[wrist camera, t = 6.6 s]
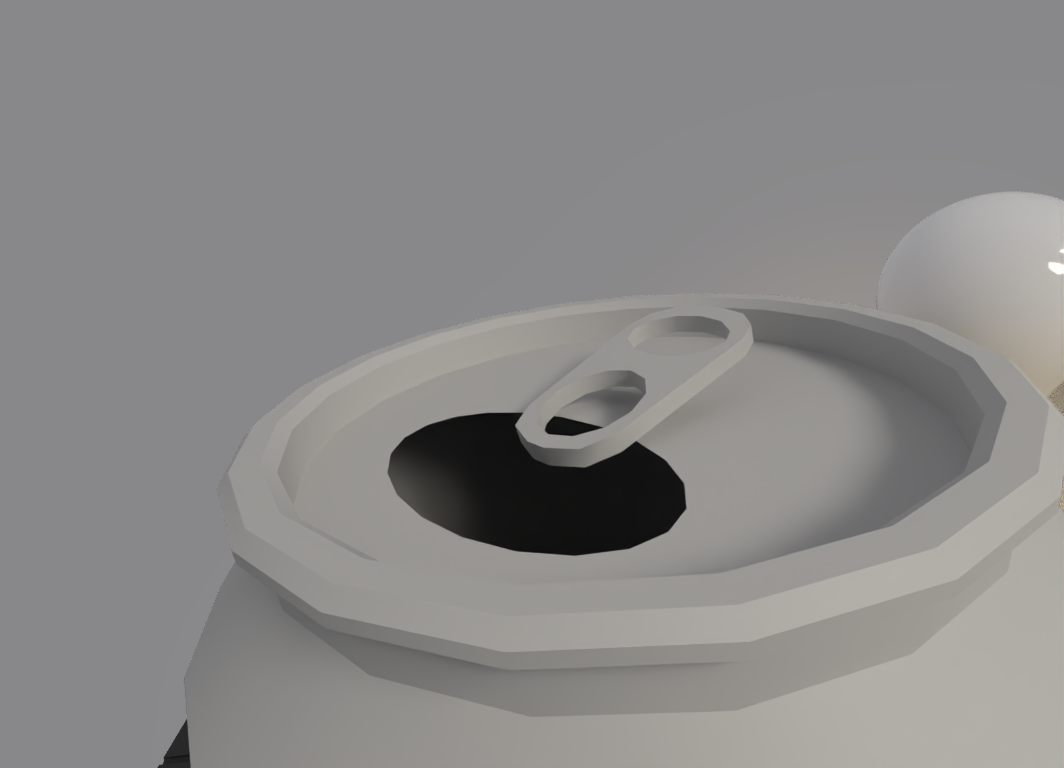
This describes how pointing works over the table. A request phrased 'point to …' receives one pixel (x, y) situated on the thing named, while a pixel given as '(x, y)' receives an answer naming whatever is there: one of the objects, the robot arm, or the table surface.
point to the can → (645, 550)
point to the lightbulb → (988, 278)
